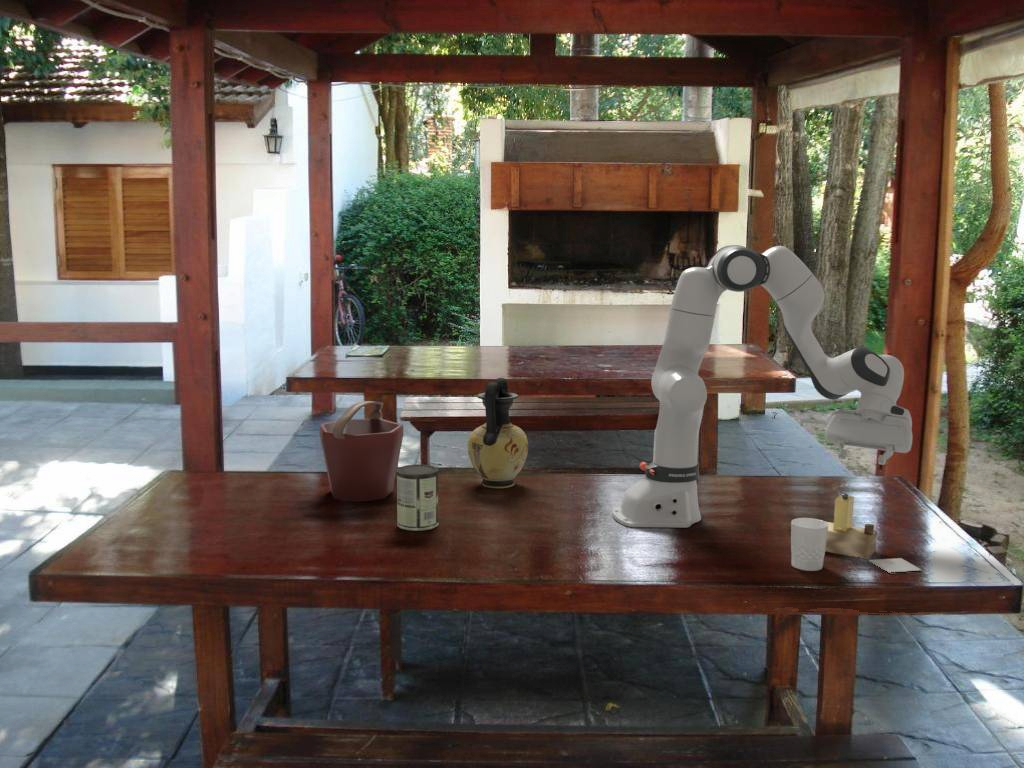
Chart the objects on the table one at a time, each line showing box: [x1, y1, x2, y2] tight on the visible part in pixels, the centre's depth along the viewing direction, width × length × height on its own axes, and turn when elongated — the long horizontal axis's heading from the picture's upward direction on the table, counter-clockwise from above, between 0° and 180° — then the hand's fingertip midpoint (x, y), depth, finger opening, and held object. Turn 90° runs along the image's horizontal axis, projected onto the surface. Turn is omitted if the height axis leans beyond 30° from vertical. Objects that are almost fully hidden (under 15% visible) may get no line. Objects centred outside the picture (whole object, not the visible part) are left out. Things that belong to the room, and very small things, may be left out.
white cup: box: [790, 517, 828, 572], centre depth 238 cm, size 8×8×10 cm
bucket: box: [318, 400, 404, 503], centre depth 290 cm, size 24×22×25 cm
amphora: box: [467, 377, 529, 489], centre depth 301 cm, size 18×17×30 cm
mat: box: [868, 557, 922, 574], centre depth 239 cm, size 8×8×1 cm
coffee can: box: [396, 464, 440, 532], centre depth 264 cm, size 10×10×14 cm
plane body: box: [825, 521, 878, 560], centre depth 250 cm, size 14×7×7 cm, turn 57°
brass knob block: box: [833, 493, 855, 532], centre depth 249 cm, size 3×4×8 cm, turn 147°
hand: (861, 460), depth 258 cm, fingers open, 8 cm apart
